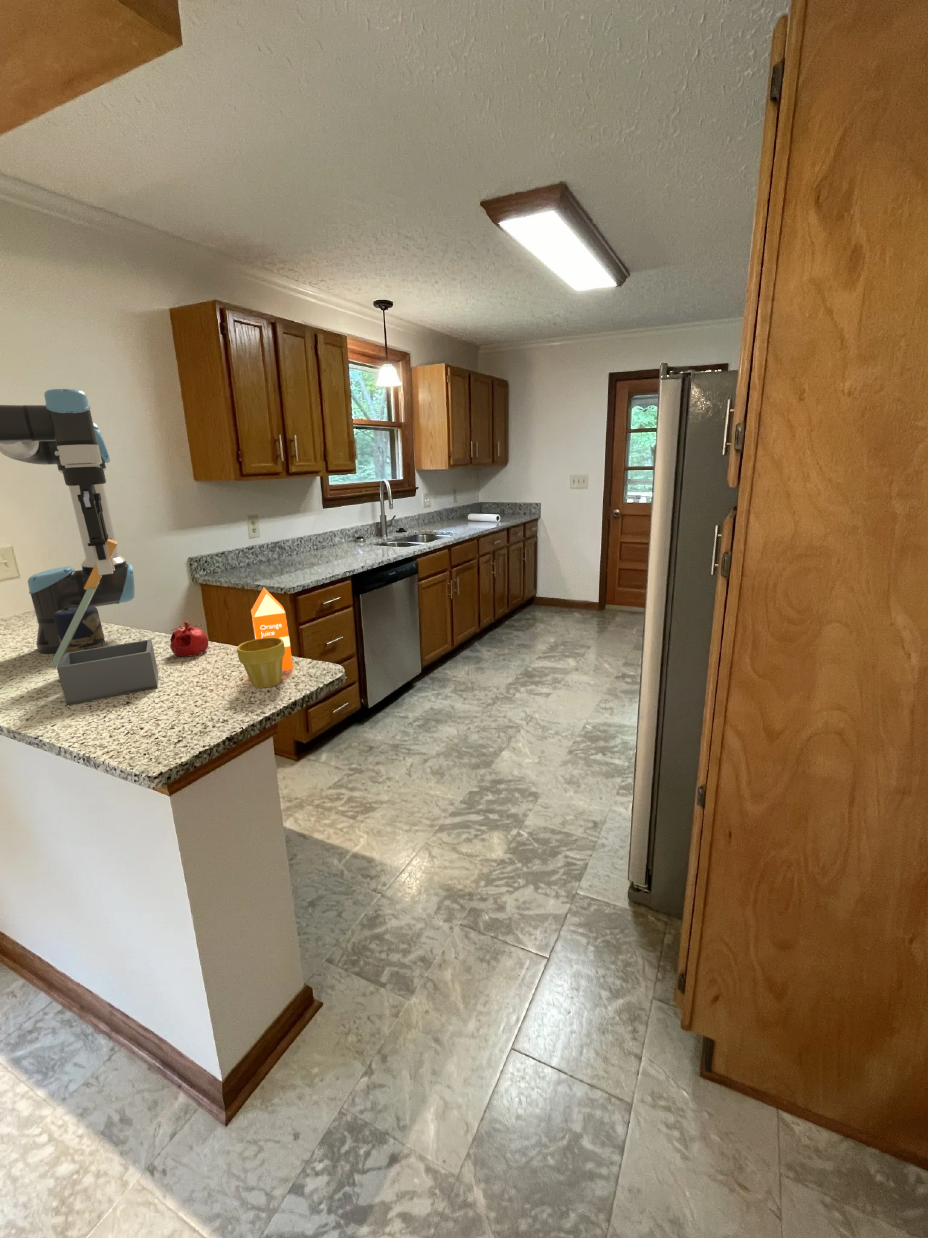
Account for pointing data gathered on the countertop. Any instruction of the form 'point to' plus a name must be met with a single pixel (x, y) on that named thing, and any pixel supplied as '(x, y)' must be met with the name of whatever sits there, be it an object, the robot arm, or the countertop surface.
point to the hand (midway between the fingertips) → (107, 572)
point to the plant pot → (262, 660)
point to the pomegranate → (188, 641)
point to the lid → (81, 607)
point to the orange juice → (271, 623)
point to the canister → (80, 628)
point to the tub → (108, 671)
